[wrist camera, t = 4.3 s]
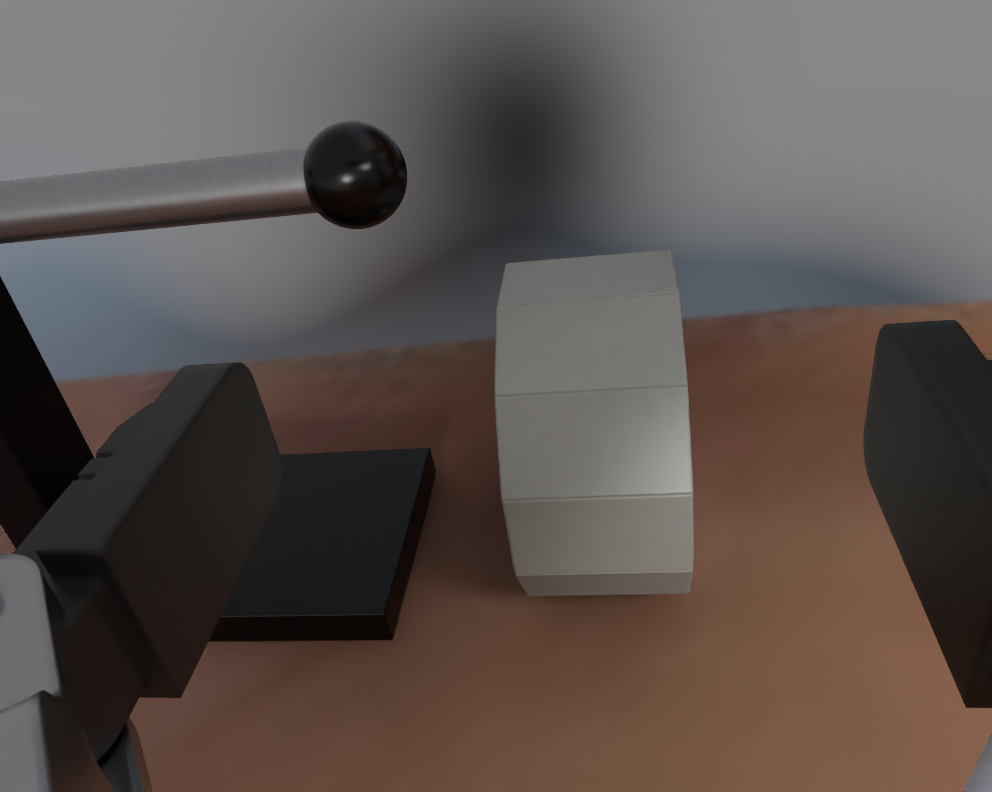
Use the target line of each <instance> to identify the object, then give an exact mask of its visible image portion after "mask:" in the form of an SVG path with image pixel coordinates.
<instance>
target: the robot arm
mask: <svg viewBox="0 0 992 792" xmlns="http://www.w3.org/2000/svg"><path fill="white" fill-rule="evenodd" d="M864 457H865V465H866V470H867V474H868V478H869V481H870V483H871V486H872V488H873V491H874V493H875V495H876V498H877V500H878V502H879V505H880V507H881V509H882V512H883V514H884V516H885V519H886V521H887V523H888V526H889V528H890V530H891V533H892V535H893V537H894V540H895V542H896V544H897V547H898V549H899V551H900V554H901V556H902V559H903V561H904V563H905V566H906V568H907V570H908V573H909V575H910V577H911V580H912V582H913V584H914V587H915V589H916V591H917V594H918V596H919V598H920V601H921V603H922V605H923V608H924V610H925V612H926V615H927V617H928V620H929V622H930V624H931V627H932V629H933V631H934V634H935V636H936V638H937V641H938V643H939V645H940V648H941V650H942V652H943V655H944V657H945V659H946V662H947V664H948V666H949V669H950V671H951V673H952V676H953V678H954V681H955V683H956V685H957V688H958V690H959V692H960V695H961V697H962V699H963V702H964V704H965V706H966V708H992V360H987V359H986V358H985V357H984V355H983V354H982V353H981V351H980V350H979V349H978V347H977V346H976V345H975V343H974V342H973V341H972V339H971V338H970V337H969V335H968V334H967V333H966V331H965V330H964V329H963V328H962V326H961V325H960V324H959V323H958V322H957V321H955V320H943V321H927V322H910V323H894V324H885V325H884V326H883V327H882V328H881V330H880V332H879V335H878V339H877V344H876V350H875V357H874V364H873V371H872V378H871V386H870V393H869V400H868V407H867V414H866V421H865V428H864ZM282 475H283V473H282V462H281V456H280V453H279V450H278V447H277V444H276V441H275V438H274V435H273V433H272V430H271V427H270V424H269V421H268V418H267V415H266V412H265V409H264V407H263V404H262V401H261V398H260V395H259V392H258V389H257V386H256V384H255V381H254V378H253V376H252V374H251V372H250V370H249V369H248V368H247V367H246V366H245V365H244V364H242V363H238V362H237V363H221V364H205V365H190V366H185V367H183V368H182V369H181V370H180V371H179V372H178V373H177V374H176V376H175V377H174V378H173V379H172V381H171V382H170V383H169V384H168V386H167V387H166V388H165V389H164V391H163V392H162V393H161V394H160V396H159V397H158V398H157V399H156V401H155V402H154V403H153V404H149V405H148V406H147V407H145V408H144V409H142V410H141V411H140V412H138V413H137V414H135V415H134V416H133V417H131V418H130V419H128V420H127V421H125V422H124V423H123V424H121V425H120V426H118V427H117V428H116V430H115V431H114V432H113V433H112V434H111V436H110V437H109V438H108V439H107V440H106V442H105V443H104V444H103V445H102V446H101V448H100V449H99V450H98V451H97V453H96V458H92V459H91V460H90V461H89V462H88V463H87V465H86V466H85V467H84V468H83V469H82V471H81V472H80V473H79V474H78V476H79V479H78V480H73V481H72V483H71V484H70V485H69V486H68V487H67V489H66V490H65V491H64V492H63V494H62V495H61V496H60V497H59V498H58V500H57V501H56V502H55V503H54V504H53V506H52V507H51V508H50V509H49V510H48V512H47V513H46V514H45V515H44V516H43V518H42V519H41V520H40V521H39V522H38V524H37V525H36V526H35V527H34V528H33V530H32V531H31V532H30V533H29V534H28V536H27V537H26V538H25V539H24V541H23V542H22V543H21V544H20V545H19V547H18V548H17V549H16V550H15V551H14V553H13V554H0V792H153V790H152V786H151V782H150V778H149V774H148V770H147V766H146V762H145V759H144V755H143V751H142V747H141V743H140V739H139V735H138V732H137V730H136V727H135V726H134V724H133V722H132V721H131V719H130V717H129V716H130V714H131V712H132V710H133V708H134V706H135V704H136V703H137V701H138V699H139V697H145V698H181V696H182V694H183V692H184V690H185V688H186V686H187V684H188V682H189V680H190V678H191V676H192V674H193V672H194V670H195V668H196V666H197V664H198V662H199V660H200V658H201V656H202V653H203V651H204V649H205V647H206V645H207V643H208V641H209V639H210V637H211V635H212V633H213V631H214V629H215V627H216V625H217V623H218V621H219V619H220V617H221V615H222V613H223V611H224V609H225V607H226V605H227V603H228V601H229V599H230V597H231V594H232V592H233V590H234V588H235V586H236V584H237V582H238V580H239V578H240V576H241V574H242V572H243V570H244V568H245V566H246V564H247V562H248V560H249V558H250V556H251V554H252V552H253V550H254V548H255V546H256V544H257V542H258V540H259V538H260V536H261V533H262V531H263V529H264V527H265V525H266V523H267V521H268V519H269V517H270V515H271V513H272V511H273V509H274V507H275V505H276V503H277V501H278V498H279V496H280V492H281V487H282ZM964 792H992V733H991V735H990V738H989V740H988V742H987V744H986V746H985V748H984V750H983V752H982V754H981V756H980V758H979V760H978V762H977V765H976V767H975V769H974V771H973V773H972V775H971V777H970V779H969V781H968V783H967V785H966V787H965V790H964Z"/></svg>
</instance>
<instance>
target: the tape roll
mask: <svg viewBox="0 0 992 792" xmlns="http://www.w3.org/2000/svg"><path fill="white" fill-rule="evenodd" d="M687 386H688V382H687V371H686V360H685V349H684V338H683V327H682V317H681V307H680V296H679V289H678V283H677V278H676V272H675V267H674V261H673V256H672V251H671V250H660V251H647V252H635V253H624V254H612V255H600V256H588V257H576V258H564V259H553V260H541V261H528V262H517V263H508V264H506V265H505V270H504V274H503V279H502V284H501V288H500V293H499V297H498V302H497V308H496V336H495V378H494V396H495V398H494V403H495V418H496V433H497V447H498V462H499V477H500V492H501V499H502V507H503V512H504V518H505V524H506V529H507V535H508V541H509V546H510V552H511V558H512V563H513V569H514V573H515V576H516V577H517V579H518V580H519V582H520V584H521V585H522V587H523V589H524V590H525V592H526V593H527V595H528V596H574V595H634V594H688V593H689V592H690V588H691V583H692V577H693V571H694V503H693V473H692V454H691V435H690V416H689V398H688V387H687Z"/></svg>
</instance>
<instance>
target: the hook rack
mask: <svg viewBox="0 0 992 792" xmlns="http://www.w3.org/2000/svg"><path fill="white" fill-rule="evenodd" d="M406 186H407V169H406V164H405V160H404V158H403V156H402V153H401V151H400V149H399V147H398V146H397V144H395V142H394V141H393V139H391V137H390V136H389V135H387V134H386V133H385V132H384V131H382V130H381V129H379V128H377V127H375V126H373V125H371V124H368V123H364V122H359V121H345V122H340V123H336V124H333V125H331V126H329V127H327V128H325V129H324V130H323V131H321V132H320V133H319V134H318V135H317V136H316V137H315V138H314V139H313V140H312V142H311V143H310V144H309V146H308V147H305V148H297V149H288V150H280V151H270V152H261V153H253V154H243V155H234V156H225V157H216V158H207V159H198V160H189V161H181V162H172V163H162V164H153V165H144V166H136V167H128V168H118V169H109V170H100V171H91V172H82V173H73V174H65V175H55V176H47V177H37V178H29V179H19V180H11V181H1V182H0V244H3V243H13V242H22V241H23V242H24V241H33V240H43V239H54V238H64V237H75V236H85V235H95V234H105V233H114V232H126V231H135V230H146V229H156V228H167V227H177V226H187V225H196V224H207V223H218V222H227V221H237V220H247V219H258V218H269V217H279V216H289V215H299V214H309V213H319V214H320V215H321V216H322V217H324V218H325V219H326V220H328V221H329V222H331V223H333V224H335V225H338V226H341V227H344V228H350V229H364V228H369V227H373V226H375V225H378V224H380V223H381V222H383V221H385V220H386V219H388V218H389V217H390V216H391V215H392V214H393V213H394V212H395V211H396V210H397V208H398V207H399V205H400V203H401V202H402V199H403V197H404V194H405V191H406ZM280 456H281V462H282V473H283V475H282V487H281V492H280V496H279V498H278V501H277V503H276V505H275V507H274V509H273V511H272V513H271V515H270V517H269V519H268V521H267V523H266V525H265V527H264V529H263V531H262V533H261V536H260V538H259V540H258V542H257V544H256V546H255V548H254V550H253V552H252V554H251V556H250V558H249V560H248V562H247V564H246V566H245V568H244V570H243V572H242V574H241V576H240V578H239V580H238V582H237V584H236V586H235V588H234V590H233V592H232V594H231V597H230V599H229V601H228V603H227V605H226V607H225V609H224V611H223V613H222V615H221V617H220V619H219V621H218V623H217V625H216V627H215V629H214V631H213V633H212V635H211V637H210V639H209V641H318V640H392V639H393V636H394V632H395V628H396V624H397V620H398V616H399V612H400V608H401V604H402V601H403V597H404V593H405V589H406V585H407V581H408V577H409V573H410V569H411V566H412V562H413V558H414V554H415V550H416V546H417V542H418V538H419V534H420V531H421V527H422V523H423V519H424V515H425V511H426V507H427V503H428V499H429V496H430V492H431V488H432V484H433V480H434V476H435V472H436V471H435V466H434V462H433V458H432V453H431V449H430V448H415V449H394V450H373V451H352V452H331V453H310V454H289V455H280ZM92 458H94V456H93V454H92V452H91V450H90V449H89V447H88V445H87V443H86V441H85V439H84V437H83V435H82V433H81V431H80V429H79V427H78V425H77V423H76V422H75V420H74V418H73V416H72V414H71V412H70V410H69V408H68V406H67V404H66V402H65V400H64V398H63V396H62V394H61V393H60V391H59V389H58V387H57V385H56V383H55V381H54V379H53V377H52V375H51V373H50V371H49V369H48V367H47V366H46V364H45V362H44V360H43V358H42V356H41V354H40V352H39V350H38V348H37V347H36V344H35V342H34V341H33V339H32V337H31V335H30V333H29V331H28V329H27V327H26V325H25V323H24V321H23V319H22V318H21V315H20V314H19V311H18V310H17V308H16V306H15V304H14V302H13V300H12V298H11V296H10V294H9V292H8V290H7V288H6V286H5V285H4V283H3V281H2V279H1V277H0V524H1V526H2V527H3V529H4V531H5V532H6V534H7V535H8V537H9V538H10V540H11V542H12V543H13V545H14V546H15V548H16V549H17V548H18V547H19V545H20V544H21V543H22V542H23V541H24V539H25V538H26V537H27V536H28V534H29V533H30V532H31V531H32V530H33V528H34V527H35V526H36V525H37V524H38V522H39V521H40V520H41V519H42V518H43V516H44V515H45V514H46V513H47V512H48V510H49V509H50V508H51V507H52V506H53V504H54V503H55V502H56V501H57V500H58V498H59V497H60V496H61V495H62V494H63V492H64V491H65V490H66V489H67V487H68V486H69V485H70V484H71V483H72V481H73V480H78V479H79V476H78V474H79V473H80V472H81V471H82V469H83V468H84V467H85V466H86V465H87V463H88V462H89V461H90V460H91V459H92Z"/></svg>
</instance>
